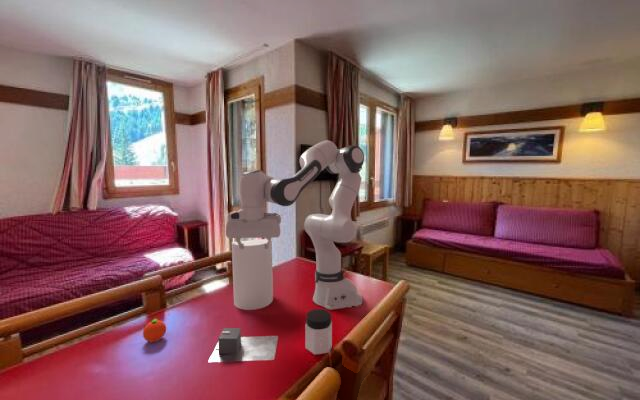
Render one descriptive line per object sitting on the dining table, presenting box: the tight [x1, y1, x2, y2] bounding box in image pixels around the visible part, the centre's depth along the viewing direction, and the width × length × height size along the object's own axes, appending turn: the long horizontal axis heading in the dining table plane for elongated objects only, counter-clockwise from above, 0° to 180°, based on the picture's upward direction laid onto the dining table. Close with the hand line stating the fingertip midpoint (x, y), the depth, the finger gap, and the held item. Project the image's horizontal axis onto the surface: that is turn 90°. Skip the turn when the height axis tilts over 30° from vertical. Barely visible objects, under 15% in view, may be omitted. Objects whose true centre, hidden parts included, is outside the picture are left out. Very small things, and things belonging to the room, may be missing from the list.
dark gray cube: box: [218, 327, 242, 354], centre depth 88 cm, size 6×6×6 cm
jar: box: [304, 308, 333, 356], centre depth 90 cm, size 9×8×12 cm
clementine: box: [142, 318, 167, 343], centre depth 95 cm, size 8×7×7 cm
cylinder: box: [231, 238, 274, 311], centre depth 122 cm, size 17×17×28 cm
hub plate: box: [207, 335, 279, 363], centre depth 89 cm, size 20×12×4 cm, turn 93°
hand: (254, 248), depth 104 cm, fingers open, 8 cm apart
